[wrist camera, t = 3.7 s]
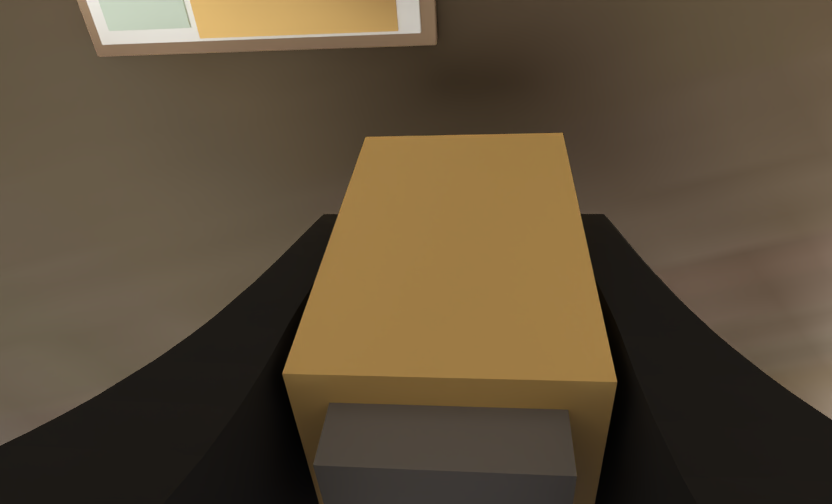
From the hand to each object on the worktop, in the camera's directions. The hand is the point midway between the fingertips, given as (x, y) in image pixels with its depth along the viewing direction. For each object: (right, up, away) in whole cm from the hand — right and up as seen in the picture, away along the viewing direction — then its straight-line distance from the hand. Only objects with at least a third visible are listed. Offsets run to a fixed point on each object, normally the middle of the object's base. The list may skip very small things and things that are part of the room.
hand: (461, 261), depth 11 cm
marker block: (0, +1, +1) cm, 2 cm away
